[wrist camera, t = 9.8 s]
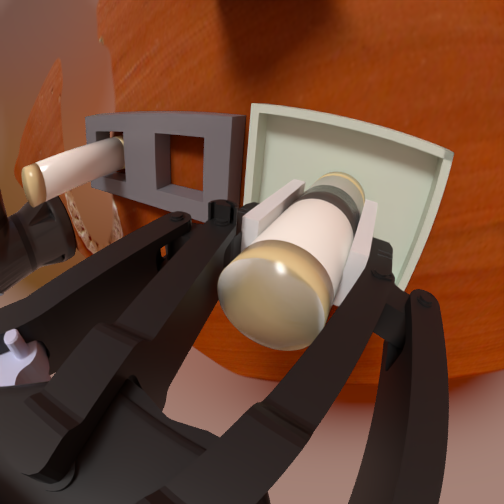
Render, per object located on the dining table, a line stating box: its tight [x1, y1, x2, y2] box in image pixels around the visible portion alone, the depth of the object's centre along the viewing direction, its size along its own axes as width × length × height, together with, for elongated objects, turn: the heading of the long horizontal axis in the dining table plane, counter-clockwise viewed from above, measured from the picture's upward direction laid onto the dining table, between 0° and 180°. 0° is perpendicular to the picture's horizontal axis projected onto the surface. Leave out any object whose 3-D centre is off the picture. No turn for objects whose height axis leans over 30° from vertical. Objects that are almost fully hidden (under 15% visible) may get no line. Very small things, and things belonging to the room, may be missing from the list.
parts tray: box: [243, 103, 454, 291], centre depth 18 cm, size 13×11×2 cm
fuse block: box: [85, 111, 246, 222], centre depth 24 cm, size 20×9×2 cm, turn 84°
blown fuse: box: [217, 172, 365, 351], centre depth 13 cm, size 4×4×12 cm
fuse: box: [22, 135, 125, 208], centre depth 22 cm, size 4×4×12 cm
